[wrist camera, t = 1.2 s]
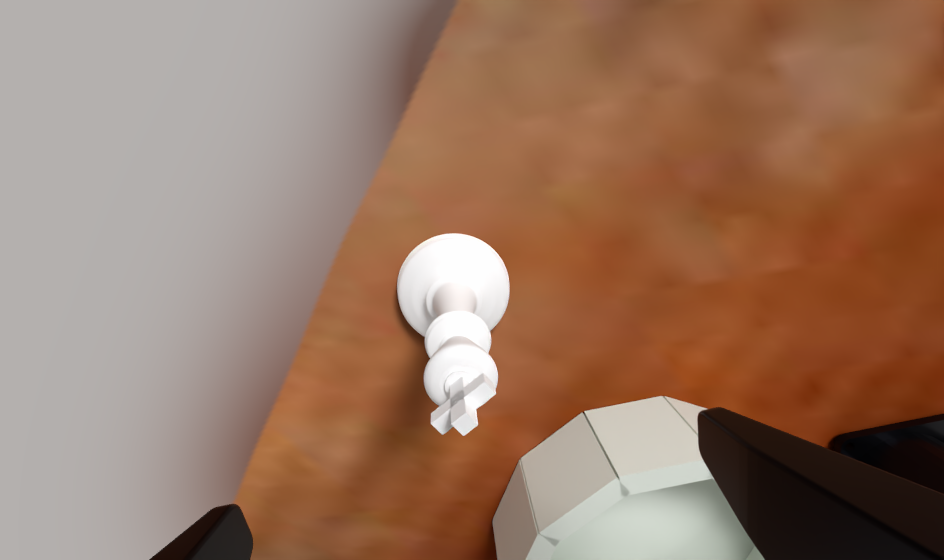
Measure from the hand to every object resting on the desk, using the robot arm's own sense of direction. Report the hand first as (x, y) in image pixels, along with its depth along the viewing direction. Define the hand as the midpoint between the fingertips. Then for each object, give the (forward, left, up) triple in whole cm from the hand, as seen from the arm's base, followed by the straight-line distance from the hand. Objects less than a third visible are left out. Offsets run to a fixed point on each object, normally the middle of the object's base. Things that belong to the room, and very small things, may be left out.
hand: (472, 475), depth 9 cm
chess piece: (0, 0, -12) cm, 12 cm away
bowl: (-7, +15, -12) cm, 20 cm away
